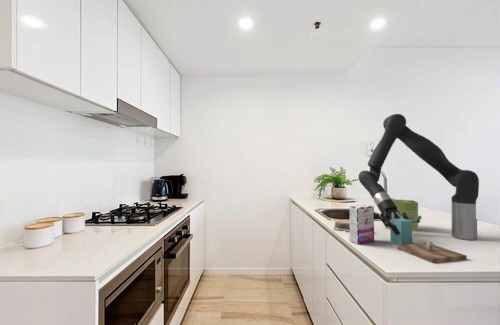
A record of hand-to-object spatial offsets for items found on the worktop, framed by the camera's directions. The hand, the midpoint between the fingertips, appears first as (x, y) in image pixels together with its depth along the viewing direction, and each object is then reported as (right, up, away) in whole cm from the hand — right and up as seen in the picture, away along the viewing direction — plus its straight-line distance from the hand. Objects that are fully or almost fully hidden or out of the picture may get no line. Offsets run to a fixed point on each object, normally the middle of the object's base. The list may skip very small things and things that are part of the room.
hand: (404, 233), depth 113 cm
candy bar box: (-17, -5, +4) cm, 18 cm away
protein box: (+16, -6, +30) cm, 35 cm away
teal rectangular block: (0, -5, +2) cm, 5 cm away
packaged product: (-14, -6, +23) cm, 27 cm away
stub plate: (+3, -5, -12) cm, 13 cm away
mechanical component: (+13, -5, +16) cm, 21 cm away
